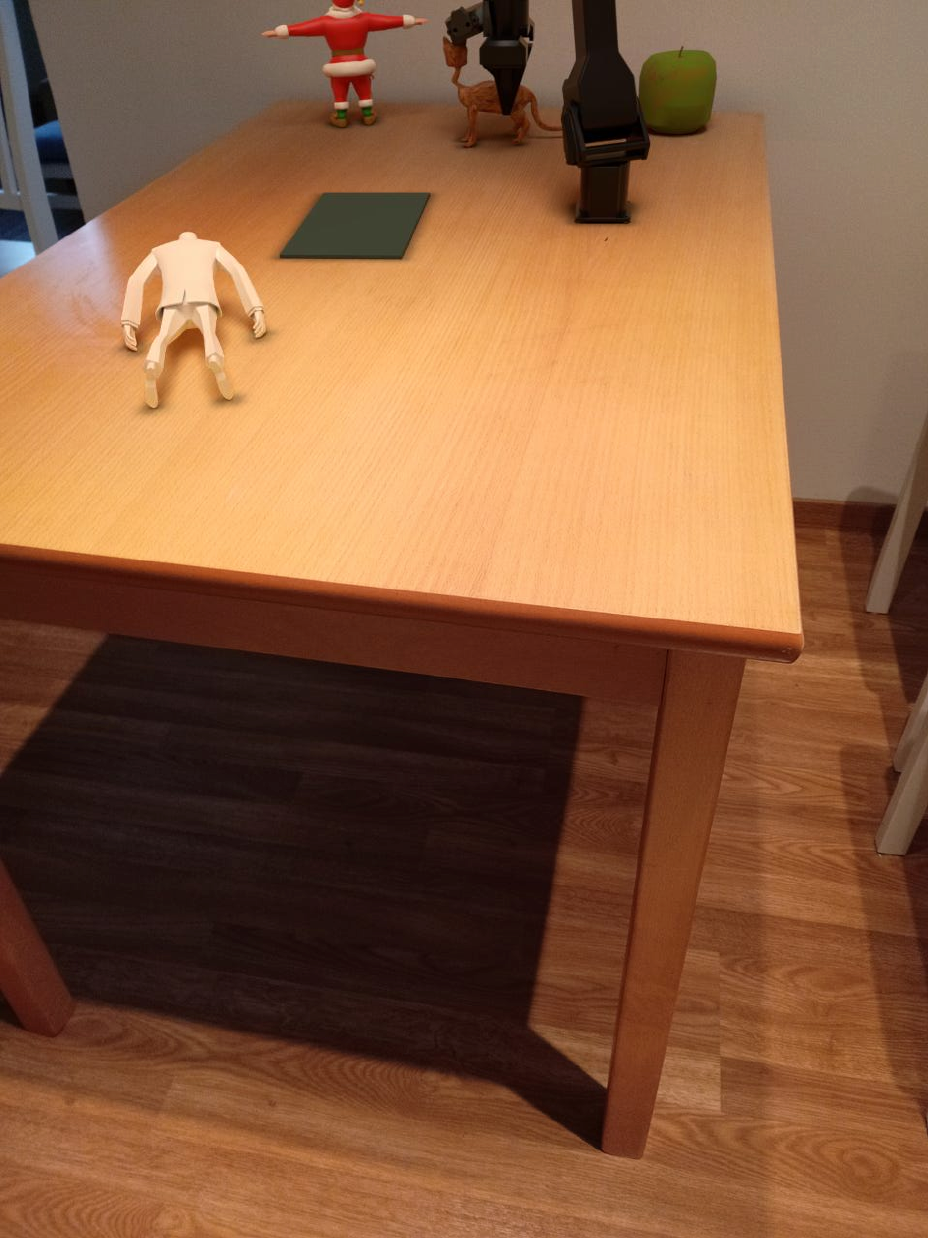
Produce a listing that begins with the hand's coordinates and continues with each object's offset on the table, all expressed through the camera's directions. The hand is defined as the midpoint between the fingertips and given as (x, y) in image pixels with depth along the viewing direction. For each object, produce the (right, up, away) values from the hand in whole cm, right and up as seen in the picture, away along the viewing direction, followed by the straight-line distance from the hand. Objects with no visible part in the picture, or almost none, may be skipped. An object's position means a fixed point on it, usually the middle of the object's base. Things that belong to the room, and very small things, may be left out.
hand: (508, 108), depth 141 cm
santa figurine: (-23, +4, +13) cm, 27 cm away
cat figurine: (0, -3, +3) cm, 4 cm away
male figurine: (-32, -47, -47) cm, 74 cm away
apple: (+25, -1, +5) cm, 25 cm away
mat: (-19, -26, -23) cm, 39 cm away
